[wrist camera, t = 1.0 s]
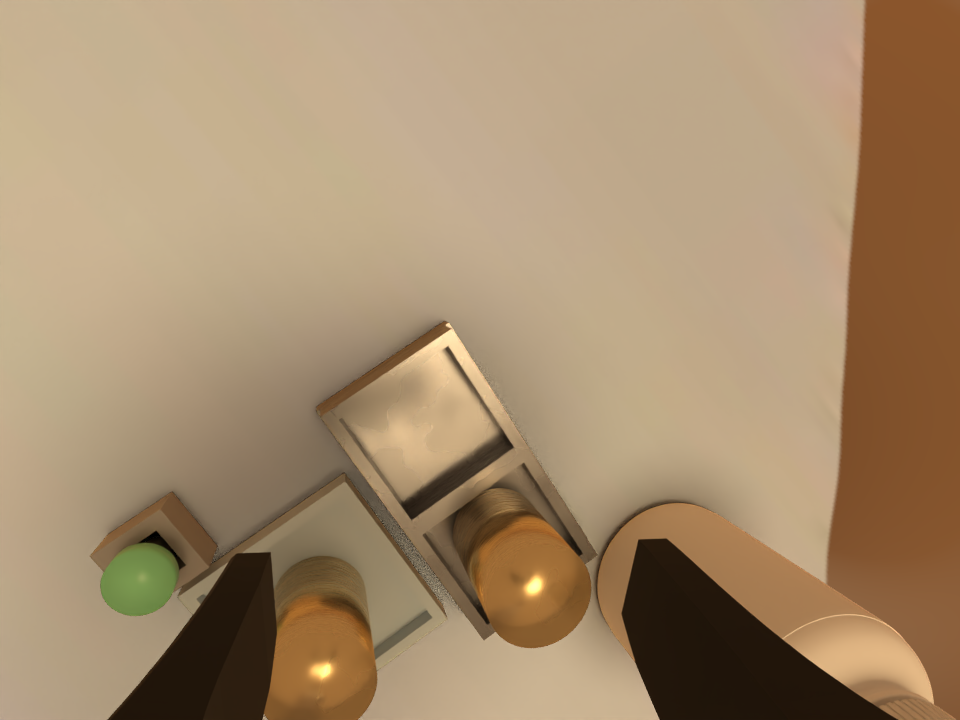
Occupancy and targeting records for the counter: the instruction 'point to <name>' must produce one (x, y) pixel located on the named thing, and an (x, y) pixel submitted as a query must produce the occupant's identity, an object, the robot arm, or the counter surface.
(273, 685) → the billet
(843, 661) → the pill bottle
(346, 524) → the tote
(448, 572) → the crate
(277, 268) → the counter surface
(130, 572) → the button
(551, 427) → the counter surface
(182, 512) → the button housing
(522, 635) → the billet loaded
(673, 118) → the counter surface
